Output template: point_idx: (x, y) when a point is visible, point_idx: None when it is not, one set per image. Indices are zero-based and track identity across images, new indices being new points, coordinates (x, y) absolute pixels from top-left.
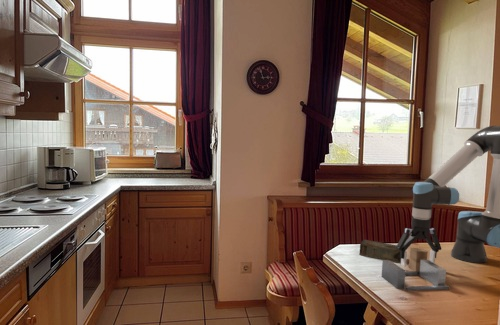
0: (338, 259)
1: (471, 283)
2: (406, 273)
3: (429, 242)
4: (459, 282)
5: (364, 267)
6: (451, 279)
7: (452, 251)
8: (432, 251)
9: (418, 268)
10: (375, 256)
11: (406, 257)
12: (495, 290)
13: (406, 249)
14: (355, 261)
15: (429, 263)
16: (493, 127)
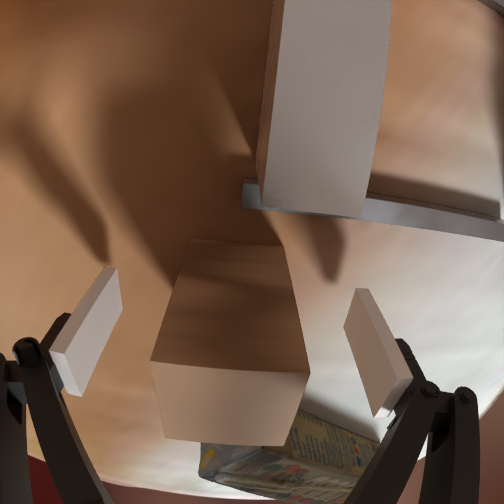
0: (488, 396)
1: (26, 15)
2: (409, 203)
3: (85, 465)
4: (83, 19)
5: (493, 330)
6: (97, 71)
7: None
8: (71, 367)
9: (260, 257)
10: (346, 433)
11: (380, 339)
12: None
13: (410, 401)
14: None
15: (359, 54)
16: None
